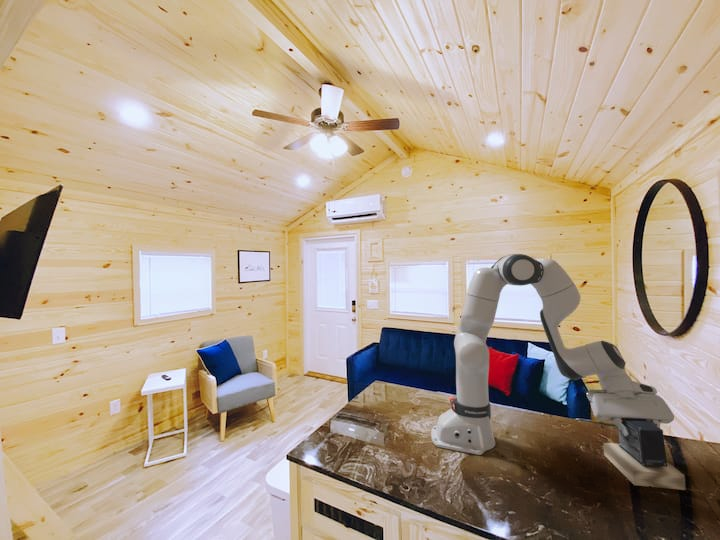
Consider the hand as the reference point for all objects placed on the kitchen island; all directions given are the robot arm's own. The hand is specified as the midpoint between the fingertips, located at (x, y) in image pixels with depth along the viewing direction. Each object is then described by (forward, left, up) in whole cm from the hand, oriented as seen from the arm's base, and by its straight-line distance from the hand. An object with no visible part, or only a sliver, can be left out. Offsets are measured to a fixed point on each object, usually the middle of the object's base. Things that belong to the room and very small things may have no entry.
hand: (643, 436), depth 87 cm
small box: (+1, +2, -7) cm, 7 cm away
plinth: (0, +2, -11) cm, 11 cm away
